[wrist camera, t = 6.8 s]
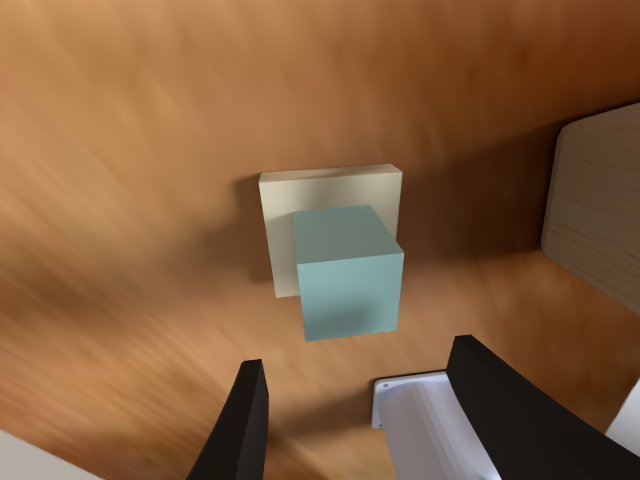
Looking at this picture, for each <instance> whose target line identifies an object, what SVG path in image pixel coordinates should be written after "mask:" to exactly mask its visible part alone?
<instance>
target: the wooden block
mask: <svg viewBox="0 0 640 480" xmlns="http://www.w3.org/2000/svg"><path fill="white" fill-rule="evenodd" d="M541 247H542V250H543V251H544V253H545V254H546V256H548V257H549V258H551V259H552V260H554V261H555V262H557V263H558V264H560V265H562V266H563V267H565V268H566V269H568V270H569V271H571V272H572V273H574V274H575V275H577V276H578V277H580V278H581V279H583V280H585V281H586V282H588V283H589V284H591V285H592V286H594V287H595V288H597V289H598V290H600V291H601V292H603V293H605V294H606V295H608V296H609V297H611V298H612V299H614V300H615V301H617V302H618V303H620V304H621V305H623V306H624V307H626V308H628V309H629V310H631V311H632V312H634V313H635V314H637V315H638V316H640V103H636V104H633V105H629V106H626V107H622V108H619V109H615V110H612V111H608V112H605V113H601V114H598V115H594V116H591V117H587V118H584V119H581V120H578V121H575V122H571V123H570V124H568V125H567V126H565V127H563V129H562V130H561V132H560V134H559V136H558V138H557V144H556V150H555V156H554V163H553V169H552V175H551V181H550V188H549V194H548V200H547V206H546V213H545V219H544V225H543V231H542V238H541Z"/></svg>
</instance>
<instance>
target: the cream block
mask: <svg viewBox="0 0 640 480" xmlns="http://www.w3.org/2000/svg"><path fill="white" fill-rule="evenodd" d="M401 182H402V171H400V170H399V169H398V168H396V167H395V166H394V165H392V164H391V163H390V164H376V165H362V166H349V167H335V168H321V169H307V170H293V171H279V172H265V173H261V176H260V180H259V188H260V195H261V201H262V208H263V214H264V221H265V227H266V234H267V240H268V247H269V254H270V260H271V267H272V273H273V280H274V286H275V293H276V298H277V297H286V296H296V295H300V288H299V279H298V270H297V260H296V245H295V230H294V215H293V212H296V211H307V210H317V209H328V208H338V207H349V206H359V205H371V207H372V208H373V210H374V211H375V212H376V214H377V215H378V217H379V218H380V219H381V221H382V222H383V224H384V225H385V226H386V228H387V229H388V231H389V232H390V234H391V235H392V236H393V238H394V239H395V241H396V233H397V223H398V213H399V202H400V192H401Z"/></svg>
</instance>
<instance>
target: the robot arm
mask: <svg viewBox="0 0 640 480" xmlns="http://www.w3.org/2000/svg"><path fill="white" fill-rule="evenodd" d="M268 414H269V393H268V388H267V384H266V379H265V374H264V369H263V364H262V359H257V360H248V361H244V362H243V363H241V366H240V369H239V372H238V374H237V377H236V380H235V382H234V385H233V387H232V389H231V392H230V394H229V396H228V398H227V401H226V403H225V405H224V407H223V409H222V411H221V414H220V416H219V418H218V420H217V422H216V424H215V426H214V428H213V430H212V432H211V434H210V436H209V438H208V440H207V442H206V444H205V445H204V447H203V449H202V451H201V453H200V455H199V457H198V459H197V461H196V462H195V464H194V466H193V468H192V470H191V471H190V473H189V475H188V477H187V478H186V480H263V471H264V462H265V453H266V443H267V434H268ZM371 424H372V427H373V428H383V431H384V434H385V438H386V441H387V445H388V448H389V452H390V455H391V459H392V462H393V466H394V469H395V473H396V476H397V480H640V457H639V456H637V455H635V454H634V453H632V452H630V451H629V450H627V449H626V448H624V447H622V446H621V445H619V444H618V443H616V442H614V441H613V440H612V439H610V438H609V437H607V436H605V435H604V434H602V433H601V432H599V431H598V430H596V429H595V428H593V427H592V426H590V425H589V424H587V423H586V422H584V421H583V420H581V419H580V418H578V417H577V416H576V415H574V414H573V413H571V412H570V411H569V410H567V409H566V408H564V407H563V406H562V405H560V404H559V403H557V402H556V401H555V400H553V399H552V398H551V397H549V396H548V395H547V394H545V393H544V392H543V391H541V390H540V389H539V388H537V387H536V386H535V385H533V384H532V383H531V382H529V381H528V380H527V379H526V378H524V377H523V376H522V375H520V374H519V373H518V372H517V371H515V370H514V369H513V368H512V367H510V366H509V365H508V364H507V363H505V362H504V361H503V360H502V359H500V358H499V357H498V356H497V355H496V354H494V353H493V352H492V351H491V350H489V349H488V348H487V347H486V346H485V345H483V344H482V343H481V342H480V341H478V340H477V339H476V338H475V337H473V336H472V335H471V334H470V335H461V336H455V338H454V342H453V346H452V350H451V353H450V357H449V361H448V364H447V368H446V371H443V372H435V373H427V374H420V375H412V376H404V377H396V378H389V379H381V380H377V381H376V382H375V385H374V398H373V410H372V423H371Z"/></svg>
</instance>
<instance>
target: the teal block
mask: <svg viewBox="0 0 640 480" xmlns="http://www.w3.org/2000/svg"><path fill="white" fill-rule="evenodd" d="M293 215H294V230H295V245H296V260H297V270H298V279H299V288H300V296H301V305H302V313H303V322H304V331H305V339H306V342H308V341H316V340H324V339H332V338H339V337H347V336H355V335H363V334H371V333H379V332H387V331H394V330H396V329H397V319H398V310H399V300H400V290H401V281H402V271H403V261H404V252H403V250H402V249H401V248H400V246H399V245H398V243H397V242H396V241H395V239H394V238H393V236H392V235H391V234H390V232H389V231H388V229H387V228H386V226H385V225H384V224H383V222H382V221H381V219H380V218H379V217H378V215H377V214H376V212H375V211H374V210H373V208H372V207H371V205H359V206H349V207H338V208H328V209H317V210H307V211H296V212H293Z"/></svg>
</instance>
